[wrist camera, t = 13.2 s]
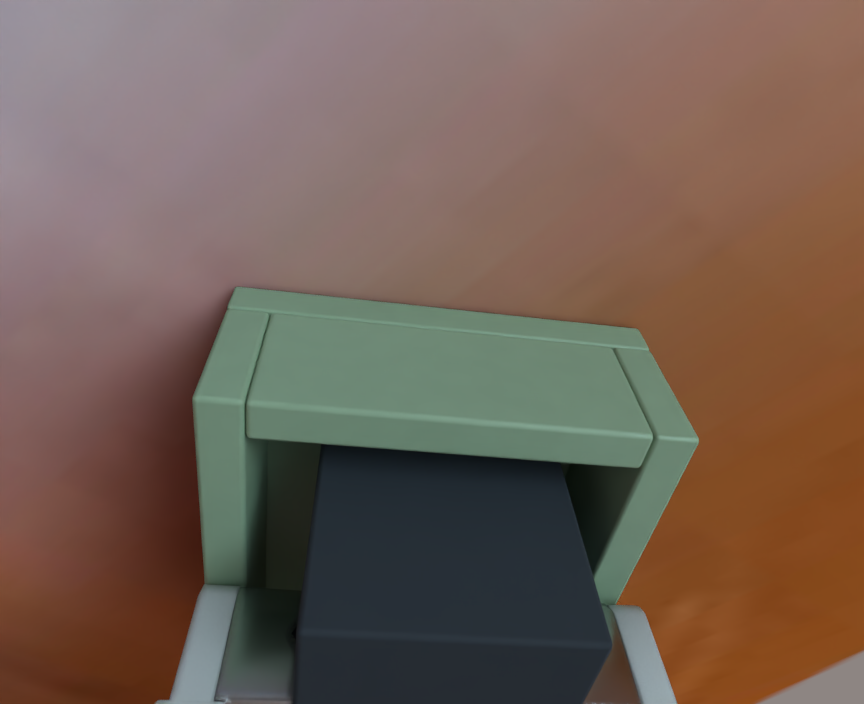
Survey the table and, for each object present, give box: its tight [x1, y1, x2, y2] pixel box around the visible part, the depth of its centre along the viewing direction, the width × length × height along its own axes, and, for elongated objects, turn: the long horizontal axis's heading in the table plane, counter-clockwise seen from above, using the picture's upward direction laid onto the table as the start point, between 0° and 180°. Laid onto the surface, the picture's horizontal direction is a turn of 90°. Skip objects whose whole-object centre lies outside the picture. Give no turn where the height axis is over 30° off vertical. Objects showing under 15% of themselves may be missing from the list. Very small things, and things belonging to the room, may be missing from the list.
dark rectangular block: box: [292, 444, 612, 704], centre depth 10 cm, size 4×5×4 cm
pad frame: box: [192, 287, 699, 605], centre depth 11 cm, size 6×8×3 cm
